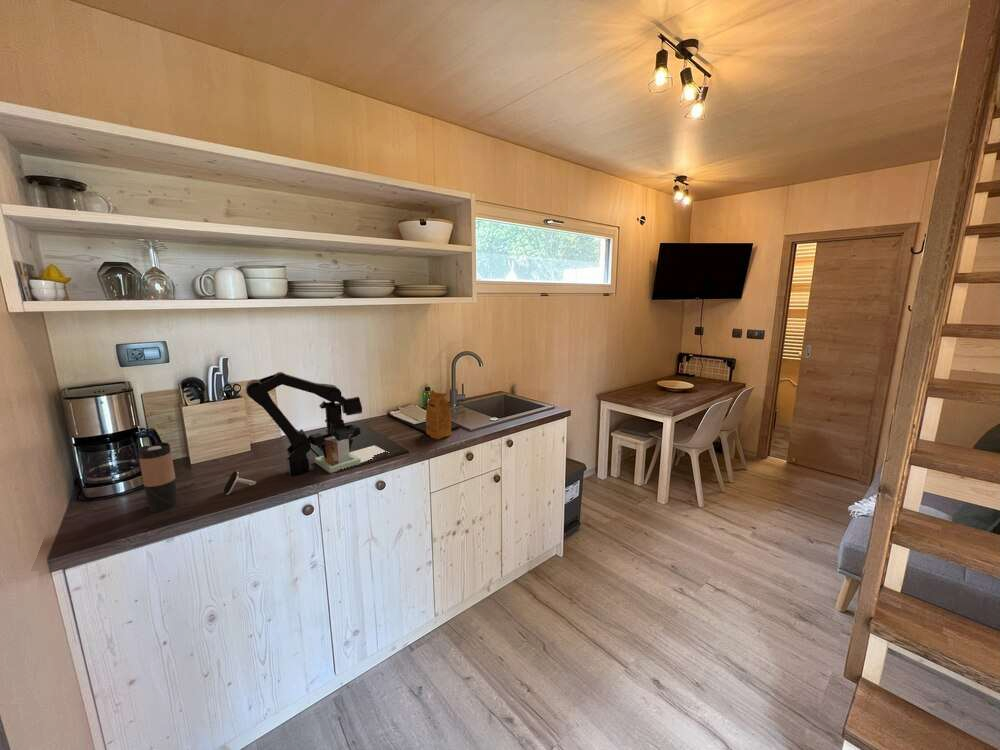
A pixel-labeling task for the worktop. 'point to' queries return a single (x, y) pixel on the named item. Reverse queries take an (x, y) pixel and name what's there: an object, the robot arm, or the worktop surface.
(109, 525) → the worktop surface
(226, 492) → the rubber stamp
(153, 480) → the travel mug
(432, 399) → the coffee package
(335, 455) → the small box
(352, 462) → the pocket frame
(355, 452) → the plate
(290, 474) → the robot arm
